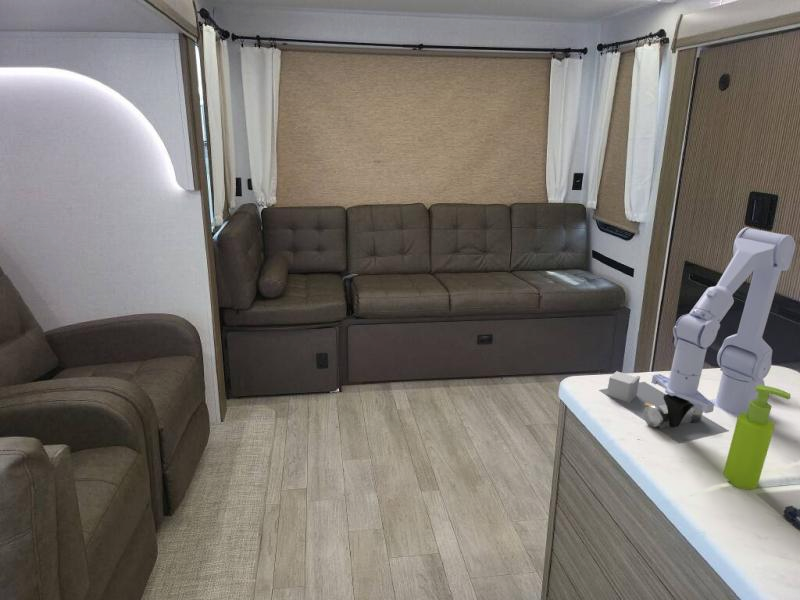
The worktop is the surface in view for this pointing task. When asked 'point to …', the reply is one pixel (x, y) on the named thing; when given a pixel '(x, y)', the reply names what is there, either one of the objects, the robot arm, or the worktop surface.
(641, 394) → the duct board
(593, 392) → the worktop surface
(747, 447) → the soap dispenser
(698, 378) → the robot arm
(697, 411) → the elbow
